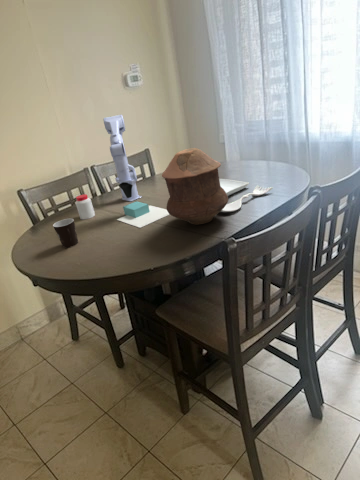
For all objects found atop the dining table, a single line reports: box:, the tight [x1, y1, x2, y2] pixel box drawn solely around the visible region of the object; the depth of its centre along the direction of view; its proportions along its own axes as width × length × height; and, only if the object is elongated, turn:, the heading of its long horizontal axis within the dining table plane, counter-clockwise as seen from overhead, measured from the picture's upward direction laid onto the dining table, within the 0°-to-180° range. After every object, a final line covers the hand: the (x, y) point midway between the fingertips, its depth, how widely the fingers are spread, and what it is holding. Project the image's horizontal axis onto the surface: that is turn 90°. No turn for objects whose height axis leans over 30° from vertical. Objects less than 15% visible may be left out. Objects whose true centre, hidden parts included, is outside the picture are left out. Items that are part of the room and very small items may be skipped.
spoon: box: [219, 184, 274, 213], centre depth 156 cm, size 9×32×4 cm, turn 132°
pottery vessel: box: [161, 147, 229, 225], centre depth 140 cm, size 26×26×30 cm
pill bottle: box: [75, 193, 96, 220], centre depth 176 cm, size 8×8×11 cm
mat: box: [116, 205, 171, 229], centre depth 163 cm, size 20×20×1 cm
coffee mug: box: [52, 218, 79, 249], centre depth 144 cm, size 12×9×10 cm
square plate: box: [219, 178, 250, 197], centre depth 177 cm, size 27×27×4 cm
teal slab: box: [122, 200, 150, 218], centre depth 167 cm, size 4×8×10 cm
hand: (129, 197), depth 168 cm, fingers closed
